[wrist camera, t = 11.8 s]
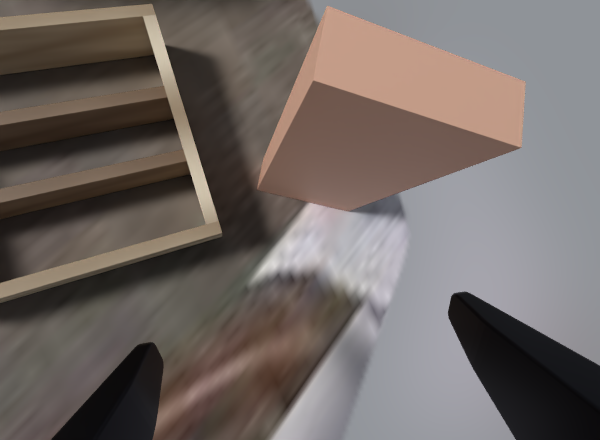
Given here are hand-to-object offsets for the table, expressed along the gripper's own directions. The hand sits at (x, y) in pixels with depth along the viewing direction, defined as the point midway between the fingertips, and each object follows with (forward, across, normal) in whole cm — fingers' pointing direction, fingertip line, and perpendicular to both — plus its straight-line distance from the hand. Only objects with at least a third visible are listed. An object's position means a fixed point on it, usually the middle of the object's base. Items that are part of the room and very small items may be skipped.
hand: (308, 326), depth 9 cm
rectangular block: (+11, -2, 0) cm, 12 cm away
